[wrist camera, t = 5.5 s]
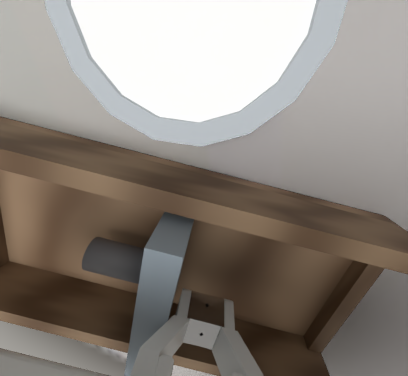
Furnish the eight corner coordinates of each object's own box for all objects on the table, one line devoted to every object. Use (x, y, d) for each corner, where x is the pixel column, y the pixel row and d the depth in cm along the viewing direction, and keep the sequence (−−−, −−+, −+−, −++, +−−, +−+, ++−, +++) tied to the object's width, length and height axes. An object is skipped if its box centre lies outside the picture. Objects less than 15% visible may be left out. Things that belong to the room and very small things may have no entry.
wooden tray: (384, 215, 13) (502, 296, 8) (305, 334, 18) (342, 438, 12) (-13, 113, 13) (-189, 118, 7) (10, 258, 18) (-89, 329, 12)
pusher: (199, 199, 12) (183, 257, 8) (173, 301, 16) (150, 386, 11) (110, 176, 12) (39, 221, 8) (103, 284, 16) (51, 361, 11)
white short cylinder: (273, 121, 12) (334, 140, 5) (156, 128, 12) (83, 153, 6) (281, -39, 9) (416, -382, 3) (134, -18, 10) (-31, -247, 4)
